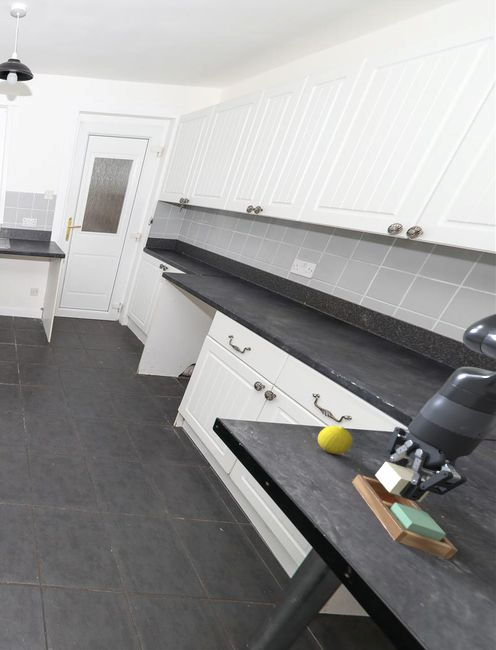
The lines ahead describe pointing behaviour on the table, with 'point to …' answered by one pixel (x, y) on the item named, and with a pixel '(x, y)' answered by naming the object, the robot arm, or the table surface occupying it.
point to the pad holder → (381, 504)
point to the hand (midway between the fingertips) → (397, 487)
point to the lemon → (335, 439)
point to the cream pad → (395, 478)
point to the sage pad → (417, 521)
